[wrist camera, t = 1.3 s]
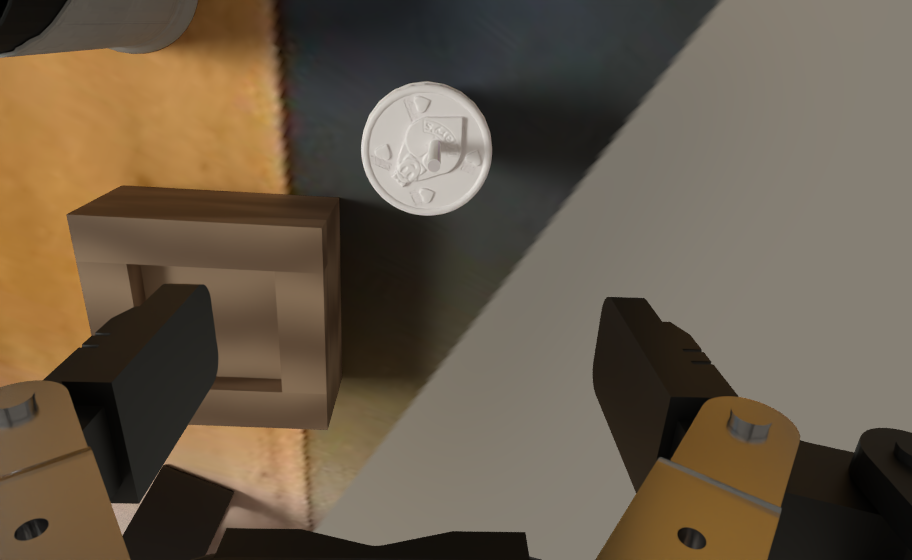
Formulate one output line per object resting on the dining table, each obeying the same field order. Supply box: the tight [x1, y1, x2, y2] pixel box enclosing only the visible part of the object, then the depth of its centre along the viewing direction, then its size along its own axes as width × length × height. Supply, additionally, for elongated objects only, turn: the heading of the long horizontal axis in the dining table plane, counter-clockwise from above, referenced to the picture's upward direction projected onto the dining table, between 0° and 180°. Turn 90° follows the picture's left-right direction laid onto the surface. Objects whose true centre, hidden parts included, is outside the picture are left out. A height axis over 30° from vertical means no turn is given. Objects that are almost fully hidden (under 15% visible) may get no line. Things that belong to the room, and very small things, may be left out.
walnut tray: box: [67, 186, 342, 430], centre depth 39 cm, size 14×14×6 cm
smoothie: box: [361, 81, 492, 216], centre depth 31 cm, size 6×6×14 cm
